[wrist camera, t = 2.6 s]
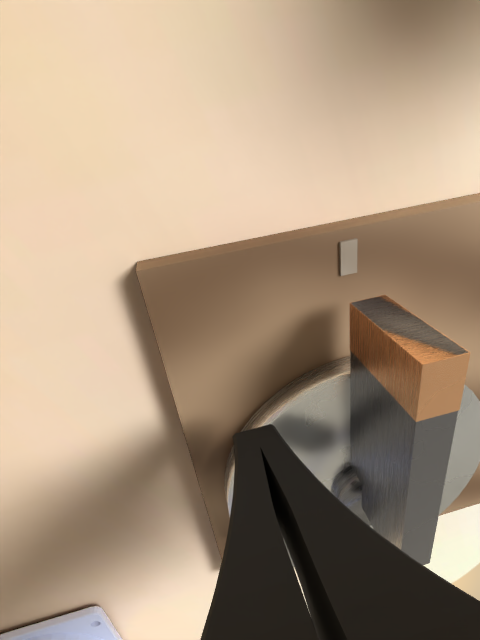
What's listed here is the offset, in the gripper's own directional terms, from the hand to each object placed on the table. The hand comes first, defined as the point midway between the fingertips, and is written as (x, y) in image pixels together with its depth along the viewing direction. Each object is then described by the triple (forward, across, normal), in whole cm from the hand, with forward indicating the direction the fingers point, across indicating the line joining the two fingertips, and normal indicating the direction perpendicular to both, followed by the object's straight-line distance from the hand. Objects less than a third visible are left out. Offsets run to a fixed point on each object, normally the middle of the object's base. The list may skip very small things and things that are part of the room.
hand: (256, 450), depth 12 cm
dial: (+2, -5, +3) cm, 6 cm away
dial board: (+4, -6, +3) cm, 7 cm away
